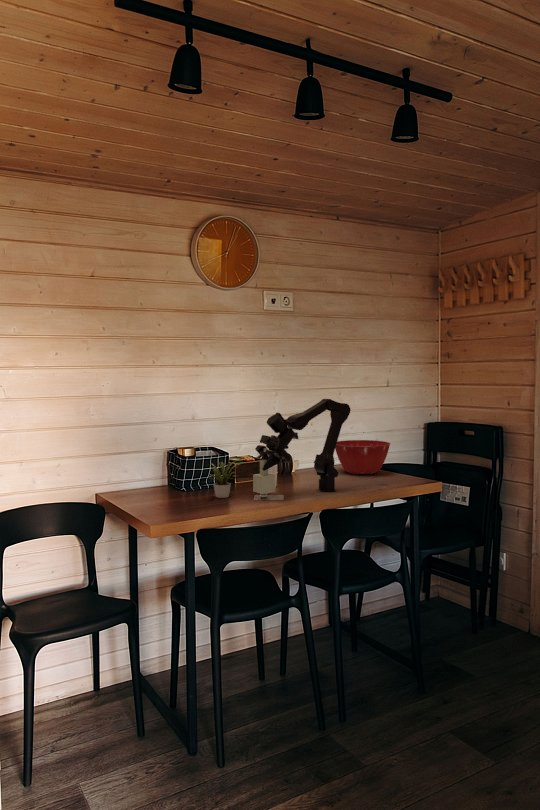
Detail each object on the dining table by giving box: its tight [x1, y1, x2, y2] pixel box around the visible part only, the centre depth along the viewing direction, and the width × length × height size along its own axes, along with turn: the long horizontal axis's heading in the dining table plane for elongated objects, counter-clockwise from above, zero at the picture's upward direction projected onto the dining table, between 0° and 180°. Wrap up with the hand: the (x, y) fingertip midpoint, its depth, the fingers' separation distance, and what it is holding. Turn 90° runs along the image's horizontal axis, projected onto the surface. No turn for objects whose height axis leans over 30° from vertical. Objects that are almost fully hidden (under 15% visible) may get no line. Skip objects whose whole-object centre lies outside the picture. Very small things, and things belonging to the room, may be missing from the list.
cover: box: [252, 459, 276, 495], centre depth 259 cm, size 6×6×13 cm
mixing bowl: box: [335, 439, 391, 475], centre depth 321 cm, size 28×28×16 cm
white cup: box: [268, 464, 278, 488], centre depth 286 cm, size 8×8×10 cm
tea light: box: [259, 493, 269, 498], centre depth 259 cm, size 3×3×2 cm
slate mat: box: [253, 494, 285, 501], centre depth 260 cm, size 12×9×1 cm
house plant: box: [208, 461, 241, 499], centre depth 262 cm, size 14×14×16 cm
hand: (261, 469), depth 258 cm, fingers closed on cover, 2 cm apart
